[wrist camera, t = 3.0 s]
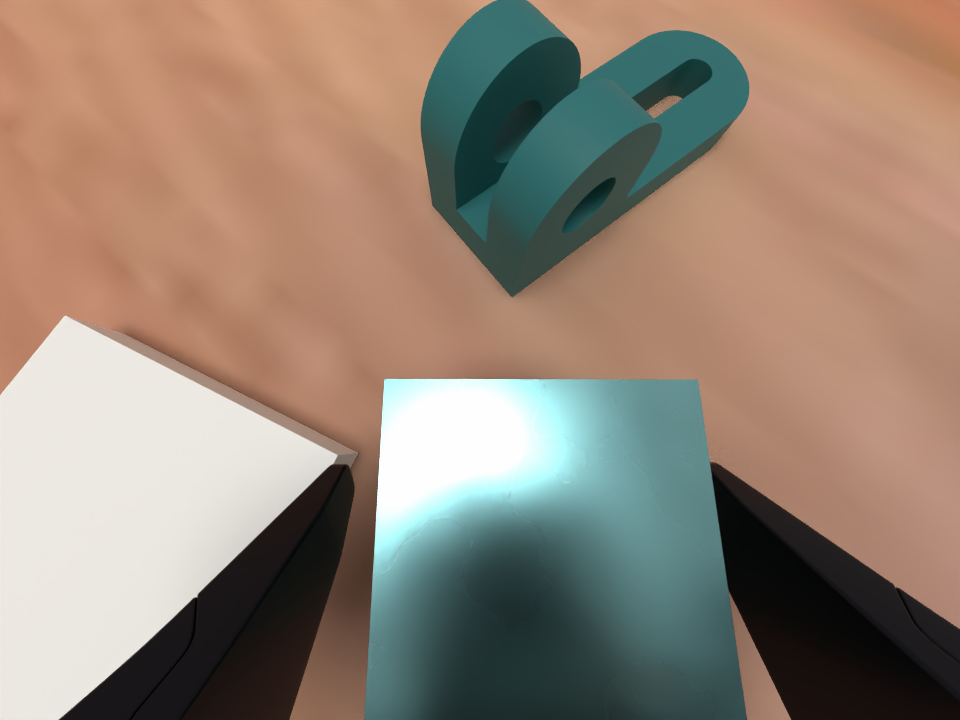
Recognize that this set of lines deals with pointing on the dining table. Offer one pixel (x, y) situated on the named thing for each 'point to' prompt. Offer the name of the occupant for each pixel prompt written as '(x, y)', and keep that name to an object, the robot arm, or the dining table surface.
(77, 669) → the riser block
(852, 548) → the dining table surface
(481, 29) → the bracket
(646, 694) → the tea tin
